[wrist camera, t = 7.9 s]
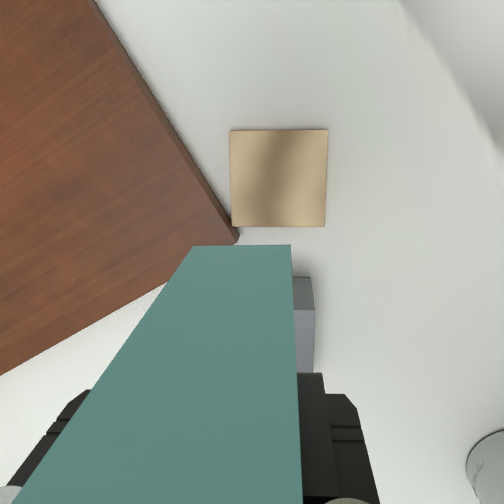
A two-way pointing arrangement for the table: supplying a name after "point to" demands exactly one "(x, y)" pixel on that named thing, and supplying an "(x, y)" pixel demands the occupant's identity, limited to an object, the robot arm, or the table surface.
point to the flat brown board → (85, 179)
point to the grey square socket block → (303, 323)
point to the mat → (278, 178)
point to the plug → (192, 396)
